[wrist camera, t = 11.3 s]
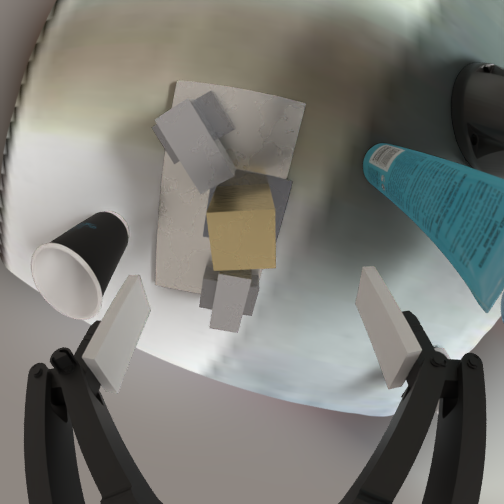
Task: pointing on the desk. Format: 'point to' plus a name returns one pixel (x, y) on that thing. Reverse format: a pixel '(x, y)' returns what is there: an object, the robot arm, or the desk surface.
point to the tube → (448, 211)
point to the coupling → (242, 227)
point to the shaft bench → (244, 151)
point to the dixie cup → (80, 264)
